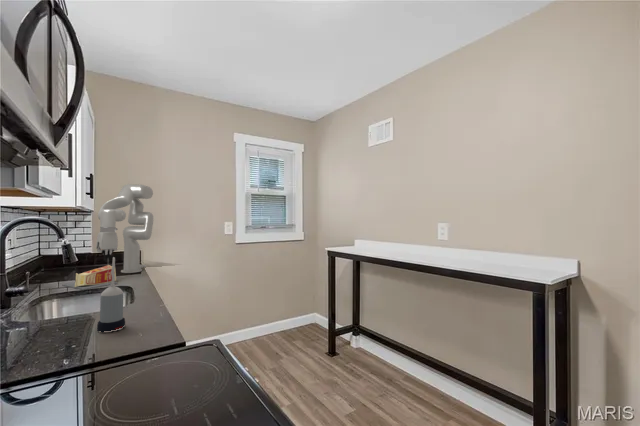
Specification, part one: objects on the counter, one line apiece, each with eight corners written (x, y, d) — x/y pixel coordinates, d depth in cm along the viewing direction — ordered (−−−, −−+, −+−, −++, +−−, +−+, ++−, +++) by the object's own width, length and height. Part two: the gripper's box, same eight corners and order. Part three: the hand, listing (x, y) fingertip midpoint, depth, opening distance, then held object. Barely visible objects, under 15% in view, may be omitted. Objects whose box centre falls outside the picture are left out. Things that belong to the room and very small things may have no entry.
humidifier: (119, 332, 106) (121, 258, 107) (92, 333, 105) (94, 259, 105) (128, 324, 114) (130, 255, 115) (103, 325, 113) (105, 255, 113)
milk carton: (116, 280, 184) (81, 291, 165) (104, 279, 186) (68, 289, 167) (115, 265, 183) (80, 274, 164) (103, 264, 186) (67, 273, 167)
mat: (97, 280, 189) (97, 279, 189) (117, 283, 180) (117, 282, 180) (62, 285, 173) (62, 284, 173) (82, 289, 164) (82, 288, 164)
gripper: (116, 229, 193) (116, 259, 193) (90, 230, 180) (89, 262, 179) (124, 230, 190) (123, 260, 189) (97, 230, 176) (97, 263, 176)
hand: (107, 261), depth 184 cm, fingers closed
